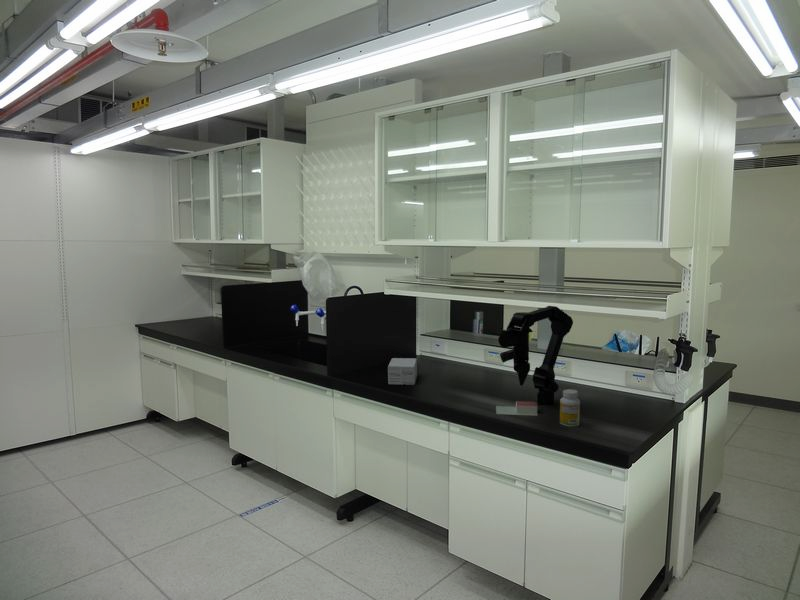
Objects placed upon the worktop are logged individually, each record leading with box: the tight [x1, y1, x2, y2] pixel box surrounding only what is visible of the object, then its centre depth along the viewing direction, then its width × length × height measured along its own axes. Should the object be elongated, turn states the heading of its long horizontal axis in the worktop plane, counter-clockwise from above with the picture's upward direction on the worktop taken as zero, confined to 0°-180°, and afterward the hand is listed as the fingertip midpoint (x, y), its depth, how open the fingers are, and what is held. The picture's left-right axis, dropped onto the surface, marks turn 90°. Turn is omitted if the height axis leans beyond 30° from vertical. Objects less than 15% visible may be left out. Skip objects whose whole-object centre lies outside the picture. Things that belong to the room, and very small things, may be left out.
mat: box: [495, 405, 538, 417], centre depth 215 cm, size 16×10×1 cm, turn 81°
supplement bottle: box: [559, 388, 581, 427], centre depth 199 cm, size 7×7×13 cm
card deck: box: [515, 400, 538, 415], centre depth 214 cm, size 8×6×3 cm
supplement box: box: [387, 357, 418, 386], centre depth 265 cm, size 17×13×9 cm
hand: (521, 382), depth 214 cm, fingers open, 9 cm apart
